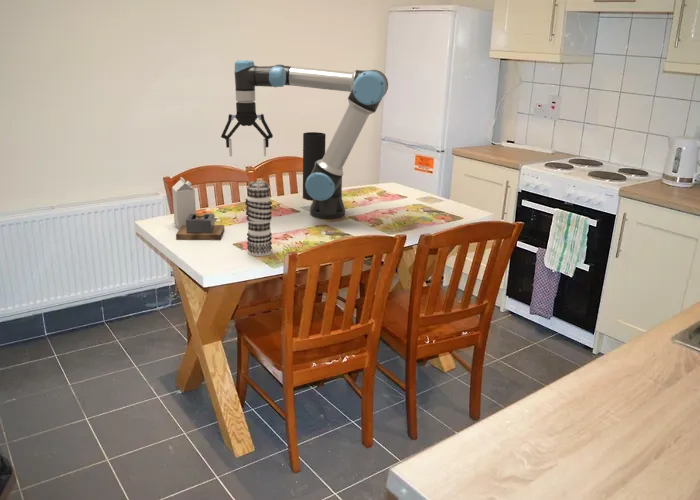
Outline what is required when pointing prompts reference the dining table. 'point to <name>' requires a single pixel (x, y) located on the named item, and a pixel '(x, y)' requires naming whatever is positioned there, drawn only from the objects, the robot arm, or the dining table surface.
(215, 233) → the stand
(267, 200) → the decorative candle
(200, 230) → the dark grey hollow block
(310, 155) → the vase
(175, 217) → the milk carton
